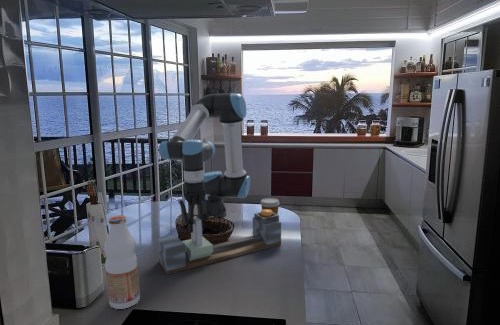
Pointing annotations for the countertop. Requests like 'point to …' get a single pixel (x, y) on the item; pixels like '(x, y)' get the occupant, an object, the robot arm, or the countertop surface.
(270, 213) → the button
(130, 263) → the fruit juice
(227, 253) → the rail bench
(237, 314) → the countertop surface
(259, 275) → the countertop surface
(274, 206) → the disposable coffee cup
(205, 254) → the block
